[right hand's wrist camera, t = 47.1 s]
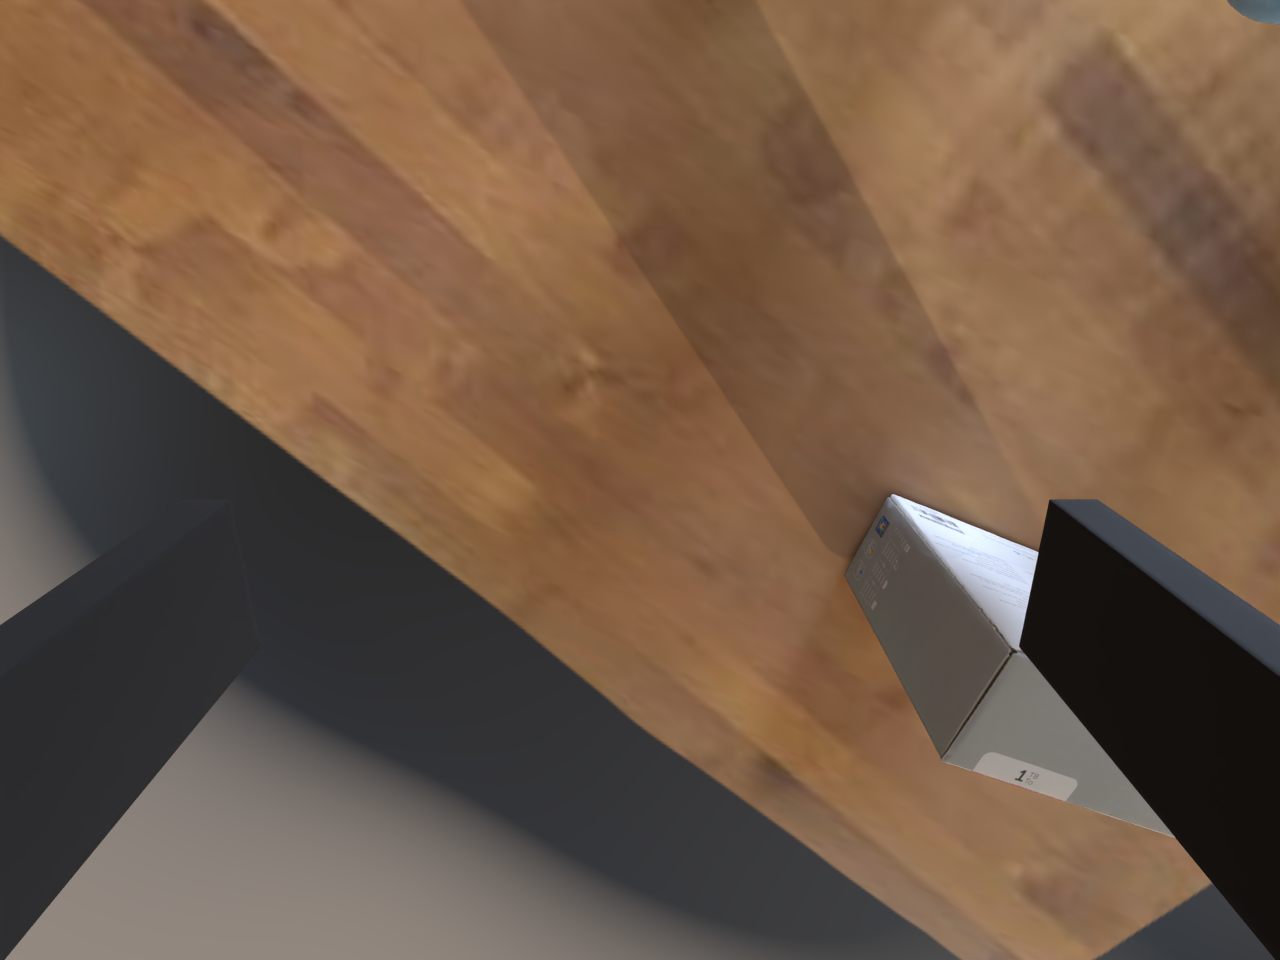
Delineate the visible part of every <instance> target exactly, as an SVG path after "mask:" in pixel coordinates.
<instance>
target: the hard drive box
mask: <svg viewBox="0 0 1280 960" xmlns="http://www.w3.org/2000/svg"><path fill="white" fill-rule="evenodd" d="M1038 553H1039V552H1036V551H1034V550H1032V549H1029V548H1027V547H1024V546H1022V545H1019V544H1017V543H1014V542H1011V541H1009V540H1006V539H1004V538H1001V537H999V536H997V535H994V534H992V533H989V532H987V531H984V530H982V529H979V528H977V527H974V526H972V525H969V524H967V523H964V522H962V521H959V520H957V519H954V518H952V517H949V516H947V515H945V514H942V513H940V512H938V511H935V510H933V509H930V508H927V507H925V506H922V505H919V504H917V503H914V502H912V501H909V500H907V499H904V498H902V497H899V496H897V495H894V494H892V495H891V497H887V499H886V500H885V502H884V504H883V506H882V507H881V509H880V511H879V513H878V515H877V517H876V518H875V520H874V522H873V524H872V526H871V527H870V529H869V531H868V533H867V535H866V536H865V538H864V540H863V542H862V544H861V545H860V547H859V549H858V551H857V553H856V554H855V556H854V558H853V560H852V562H851V564H850V565H849V567H848V569H847V571H846V573H845V578H846V579H847V581H848V583H849V585H850V587H851V589H852V591H853V593H854V595H855V596H856V598H857V600H858V602H859V604H860V606H861V608H862V610H863V612H864V614H865V616H866V618H867V619H868V621H869V623H870V625H871V627H872V629H873V631H874V632H875V634H876V636H877V638H878V640H879V642H880V644H881V645H882V647H883V649H884V651H885V653H886V655H887V657H888V659H889V661H890V662H891V664H892V666H893V668H894V670H895V672H896V674H897V676H898V677H899V679H900V681H901V683H902V685H903V687H904V689H905V691H906V693H907V694H908V696H909V698H910V700H911V702H912V704H913V706H914V708H915V709H916V711H917V713H918V715H919V717H920V719H921V721H922V723H923V725H924V727H925V728H926V730H927V732H928V734H929V736H930V738H931V740H932V742H933V744H934V746H935V747H936V749H937V751H938V753H939V755H940V758H941V760H940V761H942V762H945V763H948V764H952V765H955V766H958V767H961V768H964V769H967V770H970V771H972V772H975V773H978V774H981V775H984V776H987V777H990V778H993V779H996V780H999V781H1003V782H1006V783H1009V784H1012V785H1015V786H1018V787H1021V788H1024V789H1027V790H1030V791H1033V792H1036V793H1039V794H1042V795H1045V796H1049V797H1052V798H1055V799H1058V800H1061V801H1065V802H1069V803H1072V804H1075V805H1078V806H1081V807H1084V808H1087V809H1090V810H1092V811H1096V812H1099V813H1101V814H1104V815H1107V816H1110V817H1113V818H1116V819H1120V820H1123V821H1126V822H1129V823H1132V824H1135V825H1138V826H1141V827H1144V828H1147V829H1150V830H1153V831H1156V832H1159V833H1162V834H1166V835H1169V836H1172V837H1174V835H1173V834H1172V833H1171V832H1170V830H1169V829H1168V828H1167V827H1166V826H1165V824H1164V823H1163V822H1162V821H1161V819H1160V818H1159V817H1158V816H1157V815H1156V813H1155V812H1154V811H1153V810H1152V808H1151V807H1150V806H1149V805H1148V804H1147V802H1146V801H1145V800H1144V799H1143V797H1142V796H1141V795H1140V794H1139V793H1138V791H1137V790H1136V789H1135V788H1134V787H1133V785H1132V784H1131V783H1130V782H1129V780H1128V779H1127V778H1126V777H1125V776H1124V774H1123V773H1122V772H1121V771H1120V769H1119V768H1118V767H1117V766H1116V765H1115V763H1114V762H1113V761H1112V760H1111V758H1110V757H1109V756H1108V755H1107V754H1106V752H1105V751H1104V750H1103V749H1102V747H1101V746H1100V745H1099V744H1098V743H1097V741H1096V740H1095V739H1094V738H1093V736H1092V735H1091V734H1090V733H1089V732H1088V730H1087V729H1086V728H1085V727H1084V726H1083V724H1082V723H1081V722H1080V721H1079V719H1078V718H1077V717H1076V716H1075V715H1074V713H1073V712H1072V711H1071V710H1070V708H1069V707H1068V706H1067V705H1066V704H1065V702H1064V701H1063V700H1062V699H1061V697H1060V696H1059V695H1058V694H1057V693H1056V691H1055V690H1054V689H1053V688H1052V686H1051V685H1050V684H1049V683H1048V682H1047V680H1046V679H1045V678H1044V677H1043V676H1042V674H1041V673H1040V672H1039V671H1038V669H1037V668H1036V667H1035V666H1034V665H1033V663H1032V662H1031V661H1030V660H1029V658H1028V657H1027V656H1026V655H1025V654H1024V652H1023V651H1022V650H1021V649H1020V647H1019V643H1020V639H1021V634H1022V629H1023V624H1024V619H1025V615H1026V610H1027V605H1028V600H1029V596H1030V591H1031V586H1032V581H1033V577H1034V572H1035V567H1036V562H1037V557H1038ZM1174 838H1175V837H1174Z"/></svg>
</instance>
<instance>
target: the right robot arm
mask: <svg viewBox="0 0 1280 960" xmlns="http://www.w3.org/2000/svg"><path fill="white" fill-rule="evenodd" d="M1227 1H1228V3H1229V4H1230V5H1231V6H1232V7H1233V8H1234V9H1236V10H1237V11H1238V12H1239V13H1240V14H1242V15H1244V16H1246V17H1248V18H1249V19H1252V20H1255V21H1259V22H1264V23H1273V24H1280V0H1227ZM260 647H261V643H260V639H259V634H258V629H257V624H256V620H255V615H254V610H253V605H252V601H251V596H250V591H249V586H248V581H247V577H246V572H245V567H244V562H243V558H242V553H241V548H240V543H239V539H238V534H237V529H236V524H235V519H234V515H233V510H232V505H231V501H230V500H181V501H180V502H178V503H177V504H176V505H174V506H173V507H171V508H170V509H168V510H167V511H165V512H164V513H163V514H161V515H160V516H158V517H157V518H155V519H154V520H152V521H151V522H149V523H148V524H147V525H145V526H144V527H142V528H141V529H139V530H138V531H136V532H135V533H134V534H132V535H131V536H129V537H128V538H126V539H125V540H123V541H122V542H120V543H119V544H117V545H116V546H115V547H113V548H112V549H110V550H109V551H107V552H106V553H104V554H103V555H102V556H100V557H99V558H97V559H96V560H94V561H93V562H91V563H90V564H88V565H87V566H86V567H84V568H83V569H81V570H80V571H78V572H77V573H75V574H74V575H72V576H71V577H70V578H68V579H67V580H65V581H64V582H62V583H61V584H59V585H58V586H57V587H55V588H54V589H52V590H51V591H49V592H48V593H46V594H45V595H43V596H42V597H41V598H39V599H38V600H36V601H35V602H33V603H32V604H30V605H29V606H28V607H26V608H25V609H23V610H22V611H20V612H19V613H17V614H16V615H14V616H13V617H12V618H10V619H9V620H7V621H6V622H4V623H3V624H1V625H0V960H5V958H6V957H7V956H8V955H9V954H10V952H11V951H12V950H13V949H14V947H15V946H16V945H17V944H18V943H19V941H20V940H21V939H22V938H23V937H24V935H25V934H26V933H27V932H28V930H29V929H30V928H31V927H32V926H33V924H34V923H35V922H36V921H37V919H38V918H39V917H40V916H41V915H42V913H43V912H44V911H45V910H46V908H47V907H48V906H49V905H50V904H51V902H52V901H53V900H54V899H55V897H56V896H57V895H58V894H59V893H60V891H61V890H62V889H63V888H64V887H65V885H66V884H67V883H68V882H69V880H70V879H71V878H72V877H73V876H74V874H75V873H76V872H77V871H78V869H79V868H80V867H81V866H82V865H83V863H84V862H85V861H86V860H87V858H88V857H89V856H90V855H91V854H92V852H93V851H94V850H95V849H96V847H97V846H98V845H99V844H100V843H101V841H102V840H103V839H104V838H105V836H106V835H107V834H108V833H109V832H110V830H111V829H112V828H113V827H114V826H115V824H116V823H117V822H118V821H119V819H120V818H121V817H122V816H123V814H124V813H125V812H126V811H127V810H128V808H129V807H130V806H131V805H132V804H133V802H134V801H135V800H136V799H137V797H138V796H139V795H140V794H141V793H142V791H143V790H144V789H145V788H146V787H147V785H148V784H149V783H150V782H151V780H152V779H153V778H154V777H155V776H156V774H157V773H158V772H159V771H160V769H161V768H162V767H163V766H164V765H165V763H166V762H167V761H168V760H169V758H170V757H171V756H172V755H173V753H174V752H175V751H176V750H177V749H178V747H179V746H180V745H181V744H182V742H183V741H184V740H185V739H186V738H187V736H188V735H189V734H190V733H191V732H192V730H193V729H194V728H195V727H196V725H197V724H198V723H199V722H200V721H201V719H202V718H203V717H204V716H205V715H206V713H207V712H208V711H209V710H210V708H211V707H212V706H213V705H214V704H215V702H216V701H217V700H218V699H219V697H220V696H221V695H222V694H223V693H224V691H225V690H226V689H227V688H228V686H229V685H230V684H231V683H232V682H233V680H234V679H235V678H236V677H237V676H238V674H239V673H240V672H241V671H242V669H243V668H244V667H245V666H246V664H247V663H248V662H249V661H250V660H251V658H252V657H253V656H254V655H255V654H256V652H257V651H258V650H259V649H260ZM1019 647H1020V649H1021V650H1022V651H1023V652H1024V654H1025V655H1026V656H1027V657H1028V658H1029V660H1030V661H1031V662H1032V663H1033V665H1034V666H1035V667H1036V668H1037V669H1038V671H1039V672H1040V673H1041V674H1042V676H1043V677H1044V678H1045V679H1046V680H1047V682H1048V683H1049V684H1050V685H1051V686H1052V688H1053V689H1054V690H1055V691H1056V693H1057V694H1058V695H1059V696H1060V697H1061V699H1062V700H1063V701H1064V702H1065V704H1066V705H1067V706H1068V707H1069V708H1070V710H1071V711H1072V712H1073V713H1074V715H1075V716H1076V717H1077V718H1078V719H1079V721H1080V722H1081V723H1082V724H1083V726H1084V727H1085V728H1086V729H1087V730H1088V732H1089V733H1090V734H1091V735H1092V736H1093V738H1094V739H1095V740H1096V741H1097V743H1098V744H1099V745H1100V746H1101V747H1102V749H1103V750H1104V751H1105V752H1106V754H1107V755H1108V756H1109V757H1110V758H1111V760H1112V761H1113V762H1114V763H1115V765H1116V766H1117V767H1118V768H1119V769H1120V771H1121V772H1122V773H1123V774H1124V776H1125V777H1126V778H1127V779H1128V780H1129V782H1130V783H1131V784H1132V785H1133V787H1134V788H1135V789H1136V790H1137V791H1138V793H1139V794H1140V795H1141V796H1142V797H1143V799H1144V800H1145V801H1146V802H1147V804H1148V805H1149V806H1150V807H1151V808H1152V810H1153V811H1154V812H1155V813H1156V815H1157V816H1158V817H1159V818H1160V819H1161V821H1162V822H1163V823H1164V824H1165V826H1166V827H1167V828H1168V829H1169V830H1170V832H1171V833H1172V834H1173V835H1174V837H1175V838H1176V839H1177V840H1178V841H1179V843H1180V844H1181V845H1182V846H1183V847H1184V849H1185V850H1186V851H1187V852H1188V854H1189V855H1190V856H1191V857H1192V858H1193V860H1194V861H1195V862H1196V863H1197V865H1198V866H1199V867H1200V868H1201V869H1202V871H1203V872H1204V873H1205V874H1206V876H1207V877H1208V878H1209V879H1210V880H1211V882H1212V883H1213V884H1214V885H1215V887H1216V888H1217V889H1218V890H1219V891H1220V893H1221V894H1222V895H1223V896H1224V897H1225V899H1226V900H1227V901H1228V902H1229V904H1230V905H1231V906H1232V907H1233V908H1234V910H1235V911H1236V912H1237V913H1238V915H1239V916H1240V917H1241V918H1242V919H1243V921H1244V922H1245V923H1246V924H1247V926H1248V927H1249V928H1250V929H1251V930H1252V932H1253V933H1254V934H1255V935H1256V937H1257V938H1258V939H1259V940H1260V941H1261V943H1262V944H1263V945H1264V946H1265V947H1266V949H1267V950H1268V951H1269V952H1270V954H1271V955H1272V956H1273V957H1274V958H1275V960H1280V625H1279V624H1277V623H1276V622H1274V621H1273V620H1271V619H1270V618H1268V617H1267V616H1266V615H1264V614H1263V613H1261V612H1260V611H1258V610H1257V609H1255V608H1254V607H1253V606H1251V605H1250V604H1248V603H1247V602H1245V601H1244V600H1242V599H1241V598H1239V597H1238V596H1237V595H1235V594H1234V593H1232V592H1231V591H1229V590H1228V589H1226V588H1225V587H1223V586H1222V585H1221V584H1219V583H1218V582H1216V581H1215V580H1213V579H1212V578H1210V577H1209V576H1208V575H1206V574H1205V573H1203V572H1202V571H1200V570H1199V569H1197V568H1196V567H1194V566H1193V565H1192V564H1190V563H1189V562H1187V561H1186V560H1184V559H1183V558H1181V557H1180V556H1178V555H1177V554H1176V553H1174V552H1173V551H1171V550H1170V549H1168V548H1167V547H1165V546H1164V545H1163V544H1161V543H1160V542H1158V541H1157V540H1155V539H1154V538H1152V537H1151V536H1149V535H1148V534H1147V533H1145V532H1144V531H1142V530H1141V529H1139V528H1138V527H1136V526H1135V525H1133V524H1132V523H1131V522H1129V521H1128V520H1126V519H1125V518H1123V517H1122V516H1120V515H1119V514H1117V513H1116V512H1115V511H1113V510H1112V509H1110V508H1109V507H1107V506H1106V505H1104V504H1103V503H1102V502H1100V501H1099V500H1049V505H1048V510H1047V515H1046V519H1045V524H1044V529H1043V534H1042V538H1041V543H1040V548H1039V553H1038V557H1037V562H1036V567H1035V572H1034V577H1033V581H1032V586H1031V591H1030V596H1029V600H1028V605H1027V610H1026V615H1025V619H1024V624H1023V629H1022V634H1021V639H1020V643H1019Z"/></svg>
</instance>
